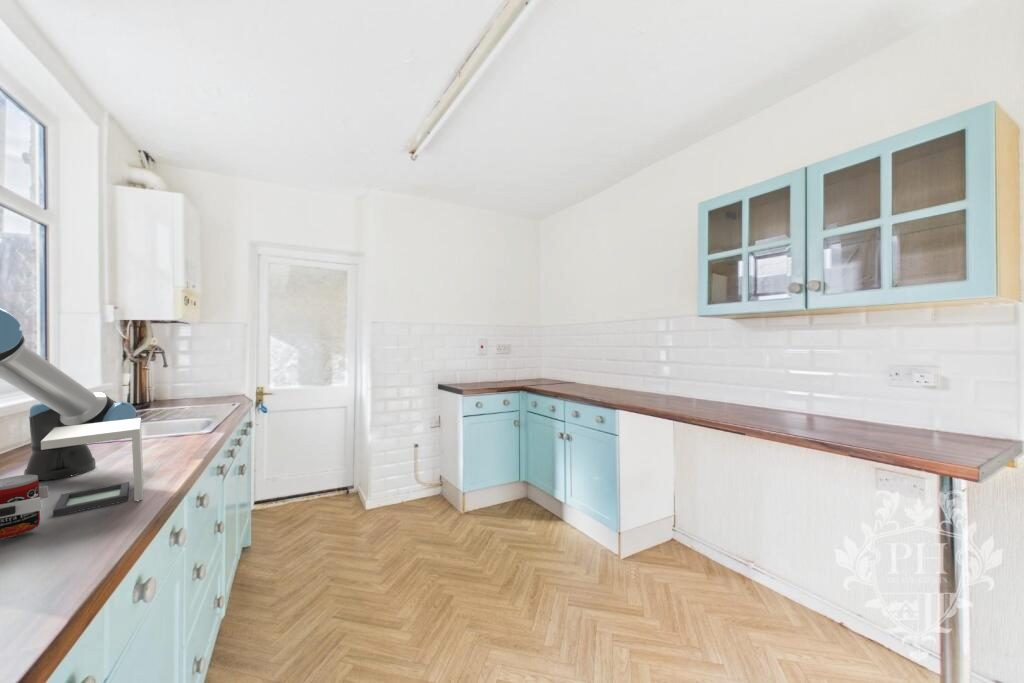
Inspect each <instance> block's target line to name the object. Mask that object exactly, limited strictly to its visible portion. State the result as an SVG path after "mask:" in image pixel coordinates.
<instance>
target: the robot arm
mask: <svg viewBox="0 0 1024 683" xmlns="http://www.w3.org/2000/svg"><path fill="white" fill-rule="evenodd" d="M20 327H22V325H21V323H20V321H19V320H18V318H16V317H15V316H14V315H13V313H12V314H11V313H10V312H9V311H7V310H4V309H2V308H0V379H2V380H4V381H5V382H7V383H8V384H10V385H11V386H13V387H15V388H17V389H18V390H19V391H20V392H21V391H22V392H23V393H25V394H26V395H28V396H29V397H31V398H33V399H34V400H36V401H37V402H39V403H35V404H33V405H31V407H30V409H29V417H28V419H29V432H30V443H31V453H30V456H29V459H28V463H27V466H26V468H25V470H23V475H37V476H38V482H40V481H39V480H45V481H50V480H49V479H53V480H56V479H57V478H59V479H63V478H62V477H64V478H68V477H67V476H69V477H72V476H71V475H73V476H76V474H77V475H81V474H83V473H86V472H89V471H92V470H94V469H95V468H96V467H97V464H96V459H95V457H93V453H92V452H91V450H90V448H89V446H88V444H81V445H73V446H66V447H59V448H52V449H44V450H41V441H42V440H43V439H44V438H45V437H46V436H47V435H48V434H49V433H50V432H51V431H52V430H53V429H54V428H56V427H64V426H73V425H82V424H91V423H99V422H108V421H117V420H126V419H134V418H137V417H136V416H137V412H136V408H135V407H134V405H133V404H131V403H130V402H127V401H122V400H121V401H120V400H119V401H116V400H113V399H112V398H111V397H109V396H108V395H107V394H105V393H103V392H101V391H91V390H89V389H87V387H85V386H83V385H82V384H81V383H79V382H77V381H76V380H75V379H73V378H72V377H71V376H69V375H68V374H66V373H65V372H63V371H62V370H61V369H59V368H58V367H56V366H55V365H53V364H52V363H51V362H49V361H48V360H46V359H45V358H44V357H42V356H41V355H40V354H38V353H36V352H35V351H34V350H33V349H31V348H30V347H29V346H27V345H25V343H26V336H25V335H24V334H23V330H22V329H20ZM57 480H58V479H57ZM48 489H49V486H48V485H44V486H39V497H38V498H32V499H27V500H22V501H16V502H11V503H6V504H1V505H0V519H1V518H6V517H10V516H15V515H20V514H25V513H30V512H35V511H40V512H41V510H42V502H41V500H43V499H44V500H45V499H48V498H49V490H48Z"/></svg>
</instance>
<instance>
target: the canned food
mask: <svg viewBox="0 0 1024 683" xmlns="http://www.w3.org/2000/svg"><path fill="white" fill-rule="evenodd" d="M39 482H40V481H38V476H37V475H24V474H20V475H15V476H8V477H4V478H0V505H1V504H6V503H11V502H16V501H22V500H27V499H32V498H38V497H39V487H40V484H39ZM40 512H41V510H40V511H35V512H30V513H25V514H20V515H15V516H10V517H6V518H1V519H0V540H2V539H7V538H11V537H16V536H18V535H23V534H25V533H28V532H30V531H32V530H34V529H36V528H37V527H38V526H39V525H40V523H41V513H40Z"/></svg>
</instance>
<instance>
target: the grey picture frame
mask: <svg viewBox="0 0 1024 683" xmlns="http://www.w3.org/2000/svg"><path fill="white" fill-rule="evenodd" d="M128 491H130V481H125V482H119V483H115V484H108V485H103V486H99V487H98V486H97V487H92V488H87V489H82V490H76V491H71V492H64V493H62V494H60V496H59V498H58V501H56V504H55V506H54V507H53V509H52V516H53V517H57V516H63V515H67V514H72V513H76V512H75V511H77V512H80V511H79V510H82V511H84V510H83V509H86V510H89V509H88V508H91V509H94V508H93V507H96V508H99V507H98V506H101V507H103V505H105V506H108V505H107V504H110V505H113V504H112V503H115V504H118V503H117V502H120V503H123V502H122V501H124V502H127V501H128V499H129V492H128ZM127 498H128V499H127ZM126 500H127V501H126Z"/></svg>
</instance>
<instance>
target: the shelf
mask: <svg viewBox="0 0 1024 683" xmlns="http://www.w3.org/2000/svg"><path fill="white" fill-rule="evenodd" d="M124 439H131V445H132V446H131V447H132V450H131V451H132V471H133V472H132V473H133V493H134V494H133V496H134V502H135V501H137V500H142V499H143V497H144V496H143V495H144V467H143V466H144V465H143V464H144V461H143V438H142V418H141V417H136V418H134V419H126V420H117V421H108V422H99V423H91V424H82V425H73V426H64V427H56V428H54V429H53V430H52V431H51V432H50V433H49V434H48V435H47V436H46V437H45V438H44V439H43V440H42V441H41V450H44V449H52V448H59V447H66V446H73V445H81V444H87V445H88V444H96V443H102V442H110V441H116V440H124ZM142 501H143V500H142Z"/></svg>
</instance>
